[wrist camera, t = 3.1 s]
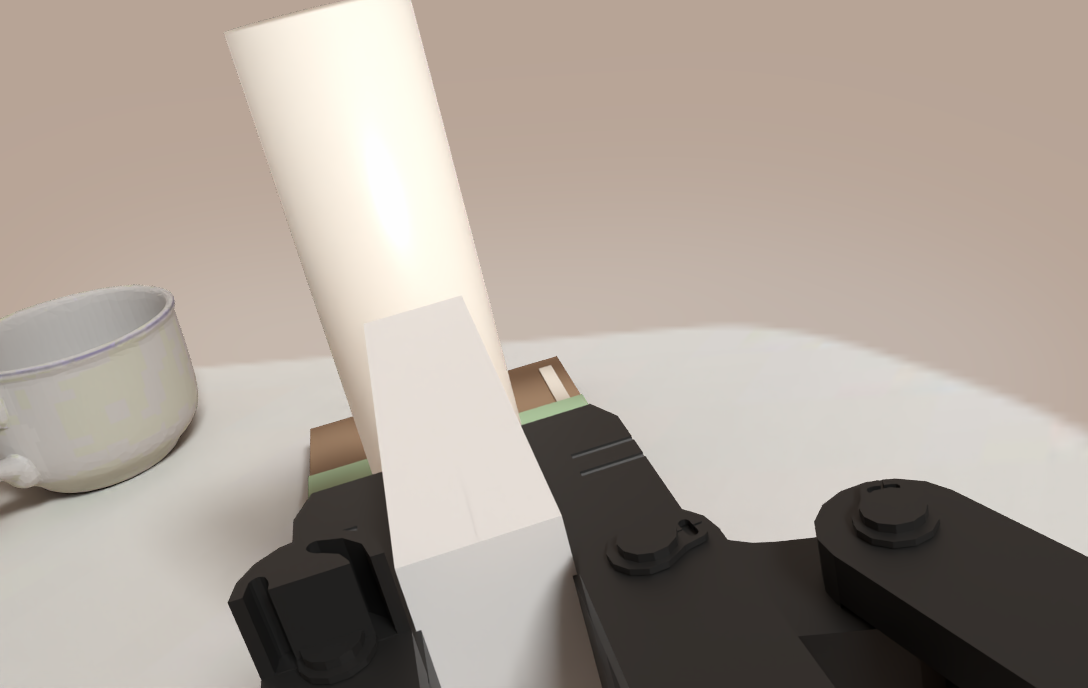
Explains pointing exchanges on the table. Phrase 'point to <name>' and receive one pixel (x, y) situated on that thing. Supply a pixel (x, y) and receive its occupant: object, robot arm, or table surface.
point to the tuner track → (343, 454)
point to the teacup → (92, 388)
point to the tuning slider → (362, 177)
